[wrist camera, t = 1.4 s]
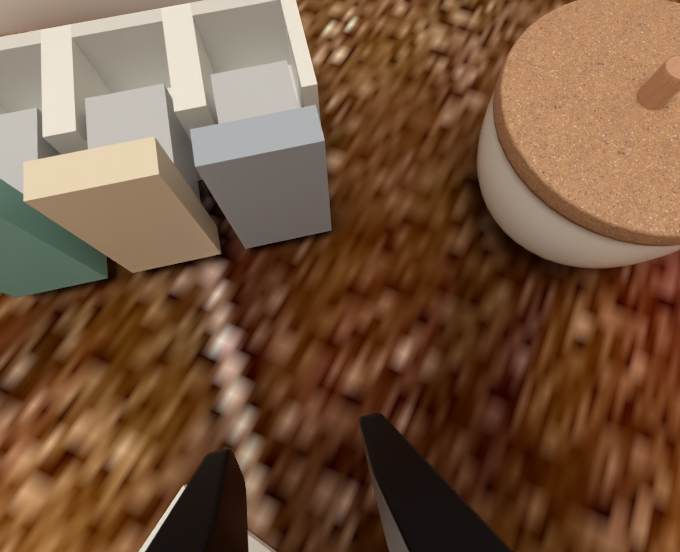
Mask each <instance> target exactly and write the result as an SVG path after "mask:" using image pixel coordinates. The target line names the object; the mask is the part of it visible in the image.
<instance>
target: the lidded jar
mask: <svg viewBox="0 0 680 552" xmlns="http://www.w3.org/2000/svg"><path fill="white" fill-rule="evenodd" d="M477 175H478V180H479V185H480V189H481V194H482V197H483V199H484V202H485V204H486V206H487V208H488V210H489V212H490V213H491V215H492V217H493V218H494V220H495V221H496V222H497V224H498V225H499V226H500V227H501V228H502V230H503V231H504V232H505V233H506V234H507V235H508V236H509V237H510V238H512V239H513V240H514V241H515V242H516V243H518V244H519V245H520V246H522V247H523V248H525V249H526V250H528V251H529V252H531V253H533V254H535V255H537V256H539V257H541V258H543V259H546V260H549V261H552V262H555V263H558V264H562V265H567V266H573V267H581V268H599V269H602V268H613V267H621V266H628V265H634V264H637V263H641V262H645V261H649V260H652V259H656V258H659V257H662V256H666V255H669V254H671V253H674V252H676V251H678V250H680V3H676V2H672V1H668V0H577V1H574V2H571V3H569V4H566V5H563V6H560V7H558V8H556V9H555V10H553V11H551V12H549V13H547V14H546V15H544V16H542V17H540V18H539V19H538V20H537V21H535V22H534V23H533V24H532V25H530V26H529V27H528V28H527V29H526V30H525V31H524V32H523V33H522V34H521V36H520V37H519V38H518V39H517V40H516V41H515V43H514V45H513V46H512V48H511V50H510V52H509V53H508V55H507V57H506V59H505V61H504V63H503V66H502V68H501V71H500V74H499V77H498V80H497V83H496V86H495V90H494V92H493V95H492V98H491V100H490V103H489V105H488V108H487V111H486V114H485V117H484V120H483V123H482V127H481V131H480V136H479V143H478V151H477Z"/></svg>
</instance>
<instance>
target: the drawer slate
mask: <svg viewBox="0 0 680 552" xmlns="http://www.w3.org/2000/svg"><path fill="white" fill-rule="evenodd" d="M211 81H212V87H213V93H214V99H215V105H216V111H217V117H218V123H219V124H215V125H210V126H205V127H200V128H195V129H190V134H191V141H192V149H193V156H194V163H195V168H196V169H197V171H198V172H199V174H200V176H201V177H202V179H203V181H204V182H205V184H206V185H207V187H208V189H209V190H210V192H211V194H212V195H213V197H214V199H215V200H216V202H217V203H218V205H219V207H220V208H221V210H222V212H223V213H224V215H225V217H226V218H227V220H228V221H229V223H230V225H231V226H232V228H233V230H234V231H235V233H236V234H237V236H238V238H239V239H240V241H241V243H242V244H243V246H244V248H245V249H247V248H252V247H256V246H261V245H266V244H270V243H275V242H280V241H284V240H289V239H294V238H299V237H303V236H308V235H313V234H317V233H322V232H327V231H331V230H332V229H331V216H330V203H329V190H328V177H327V163H326V150H325V140H324V136H323V132H322V128H321V124H320V120H319V116H318V112H317V108H316V105H312V106H307V107H302V108H298V105H297V101H296V97H295V93H294V88H293V84H292V80H291V76H290V71H289V67H288V63H287V60H285V61H280V62H274V63H269V64H264V65H259V66H253V67H248V68H243V69H237V70H232V71H227V72H222V73H216V74H211Z"/></svg>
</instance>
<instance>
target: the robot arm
mask: <svg viewBox="0 0 680 552" xmlns="http://www.w3.org/2000/svg"><path fill="white" fill-rule="evenodd" d="M359 425H360V430H361V435H362V440H363V445H364V450H365V454H366V459H367V463H368V467H369V471H370V476H371V480H372V484H373V488H374V493H375V497H376V501H377V505H378V510H379V514H380V518H381V522H382V526H383V531H384V535H385V538H386V542H387V546H388V549H389V552H513V551H512V550H511V549H510V548H509V547H508V546H507V545H506V544H505V543H504V542H503V541H502V540H501V539H500V537H499V536H498V535H497V534H496V533H495V532H494V531H493V530H492V529H491V528H490V527H489V526H488V525H487V524H486V523H485V522H484V521H483V520H482V519H481V518H480V516H479V515H478V514H477V513H476V512H475V511H474V510H473V509H472V508H471V507H470V506H469V505H468V504H467V503H466V502H465V501H464V500H463V499H462V498H461V497H460V496H459V494H458V493H457V492H456V491H455V490H454V489H453V488H452V487H451V486H450V485H449V484H448V483H447V482H446V481H445V480H444V479H443V478H442V477H441V476H440V475H439V473H438V472H437V471H436V470H435V469H434V468H433V467H432V466H431V465H430V464H429V463H428V462H427V461H426V460H425V459H424V458H423V457H422V456H421V455H420V454H419V452H418V451H417V450H416V449H415V448H414V447H413V446H412V445H411V444H410V443H409V442H408V441H407V440H406V439H405V438H404V437H403V436H402V435H401V434H400V433H399V431H398V430H397V429H396V428H395V427H394V426H393V425H392V424H391V423H390V422H389V421H388V420H387V419H386V418H385V417H384V416H383V415H382V414H380V413H375V414H370V415H366V416H362V417H360V419H359ZM145 552H249V549H248V526H247V503H246V487H245V481H244V478H243V475H242V472H241V470H240V468H239V465H238V463H237V460H236V458H235V455H234V453H233V452H232V450H231V449H223V450H219V451H215V452H211V453H209V454H207V455H206V456H205V458H204V459H203V461H202V462H201V464H200V466H199V467H198V469H197V470H196V472H195V473H194V475H193V477H192V478H191V480H190V481H189V483H188V485H187V486H186V488H185V489H184V491H183V492H182V494H181V496H180V497H179V499H178V500H177V502H176V503H175V505H174V507H173V508H172V510H171V511H170V513H169V514H168V516H167V518H166V519H165V521H164V522H163V524H162V525H161V527H160V529H159V530H158V532H157V533H156V535H155V536H154V538H153V540H152V541H151V543H150V544H149V546H148V548H147V549H146V551H145Z"/></svg>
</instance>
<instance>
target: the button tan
mask: <svg viewBox="0 0 680 552" xmlns="http://www.w3.org/2000/svg"><path fill="white" fill-rule="evenodd" d="M85 107H86V125H87V143H88V150H83V151H77V152H72V153H67V154H62V155H57V156H52V157H47V158H42V159H37V160H32V161H27V162H23V201H24V202H25V203H27V204H28V205H30V206H31V207H33V208H34V209H36V210H37V211H39V212H40V213H42V214H43V215H45V216H46V217H48V218H49V219H51V220H53V221H54V222H56V223H57V224H59V225H60V226H62V227H63V228H65V229H66V230H68V231H69V232H71V233H72V234H74V235H75V236H77V237H78V238H80V239H82V240H83V241H85V242H86V243H88V244H89V245H91V246H92V247H94V248H95V249H97V250H98V251H100V252H101V253H103V254H104V255H106V256H107V257H109V258H111V259H112V260H114V261H115V262H117V263H118V264H120V265H121V266H123V267H124V268H126V269H127V270H129V271H130V272H132V273H135V272H139V271H144V270H149V269H153V268H158V267H163V266H167V265H172V264H177V263H181V262H186V261H191V260H195V259H200V258H205V257H209V256H214V255H219V254H221V248H220V241H219V235H218V228H217V226H216V224H215V223H214V221H213V220H212V219H211V217H210V216H209V214H208V213H207V211H206V210H205V208H204V207H203V205H202V204H201V201H200V194H199V187H198V180H197V173H196V168H195V163H194V156H193V149H192V142H191V140H190V139H189V137H188V135H187V133H186V131H185V130H184V128H183V126H182V124H181V123H180V121H179V119H178V117H177V116H176V114H175V112H174V106H173V99H172V97H171V95H170V94H169V92H168V90H167V88H166V86H165V85H164V84H158V85H153V86H148V87H143V88H137V89H132V90H127V91H122V92H116V93H111V94H106V95H100V96H95V97H90V98H85Z"/></svg>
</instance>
